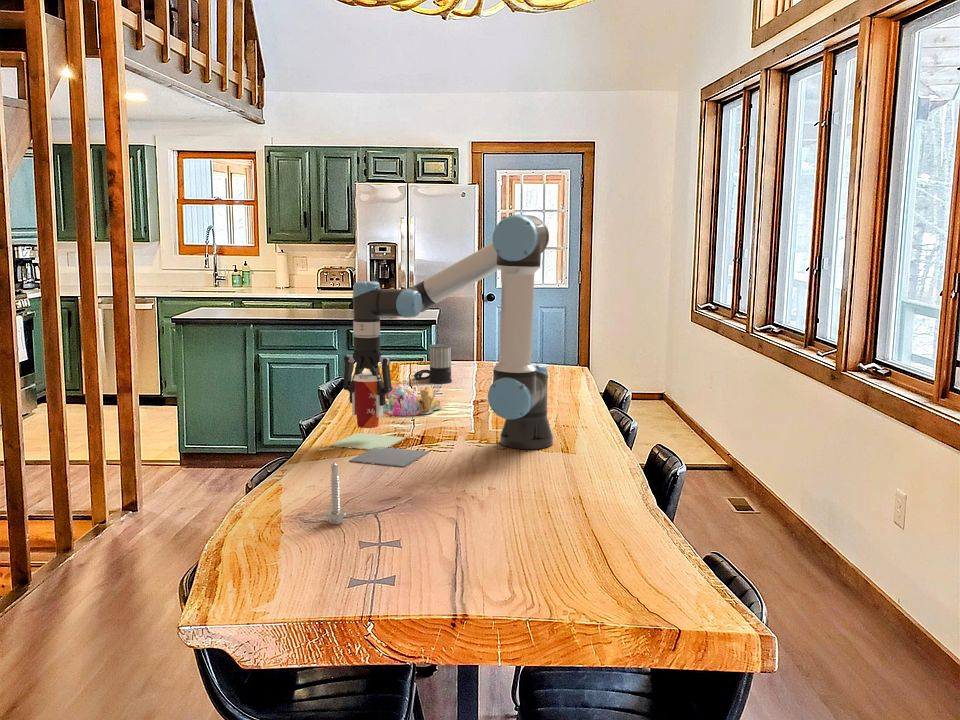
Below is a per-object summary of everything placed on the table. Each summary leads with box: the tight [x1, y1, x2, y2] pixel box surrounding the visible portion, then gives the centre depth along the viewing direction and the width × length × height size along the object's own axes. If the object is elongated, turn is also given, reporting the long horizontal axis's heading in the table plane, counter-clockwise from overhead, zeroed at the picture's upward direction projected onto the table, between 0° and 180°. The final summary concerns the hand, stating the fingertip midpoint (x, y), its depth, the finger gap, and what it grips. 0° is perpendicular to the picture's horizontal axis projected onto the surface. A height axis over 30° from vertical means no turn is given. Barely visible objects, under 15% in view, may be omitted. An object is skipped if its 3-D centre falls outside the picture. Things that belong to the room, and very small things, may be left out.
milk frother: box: [413, 343, 453, 384], centre depth 362 cm, size 14×16×15 cm
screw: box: [323, 462, 348, 526], centre depth 189 cm, size 13×5×5 cm
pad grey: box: [348, 447, 430, 468], centre depth 243 cm, size 16×16×1 cm
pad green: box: [329, 432, 406, 451], centre depth 260 cm, size 16×16×1 cm
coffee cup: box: [352, 372, 381, 429], centre depth 258 cm, size 8×8×15 cm
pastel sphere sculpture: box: [383, 382, 442, 417], centre depth 306 cm, size 25×24×9 cm
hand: (367, 415), depth 258 cm, fingers closed on coffee cup, 7 cm apart
